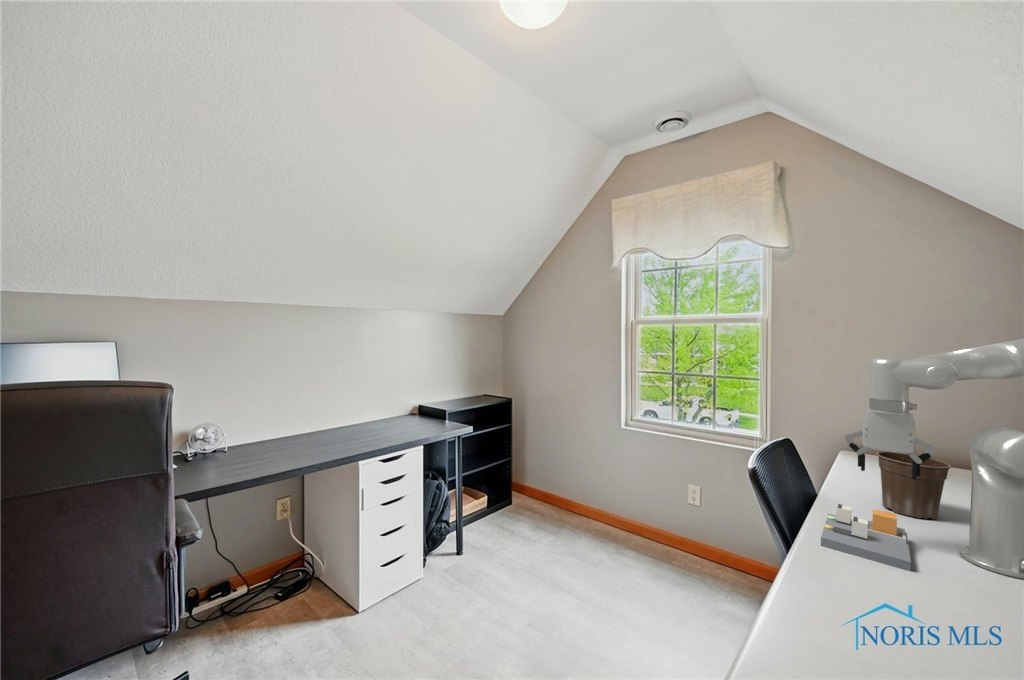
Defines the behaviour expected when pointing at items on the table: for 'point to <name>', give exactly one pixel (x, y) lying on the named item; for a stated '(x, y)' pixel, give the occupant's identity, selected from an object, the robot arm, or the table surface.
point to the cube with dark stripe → (859, 527)
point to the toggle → (843, 513)
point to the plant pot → (912, 485)
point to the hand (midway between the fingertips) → (887, 474)
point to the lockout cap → (884, 522)
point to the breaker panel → (867, 543)
